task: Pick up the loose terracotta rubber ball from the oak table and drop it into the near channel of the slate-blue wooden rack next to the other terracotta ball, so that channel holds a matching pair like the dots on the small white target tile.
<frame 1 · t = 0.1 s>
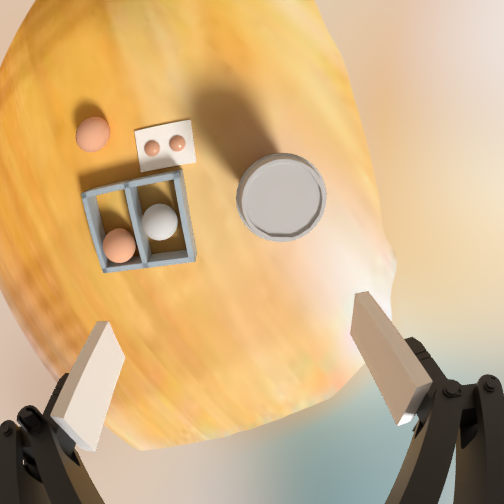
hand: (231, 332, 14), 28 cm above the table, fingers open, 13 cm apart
target tile: (165, 145, 36), on the table
ball grey: (163, 216, 40), resting in rack
disposable coffee cup: (268, 181, 39), on the table
ball terracotta 1: (124, 239, 41), resting in rack
rack: (141, 220, 40), on the table
ball terracotta 2: (100, 133, 34), on the table
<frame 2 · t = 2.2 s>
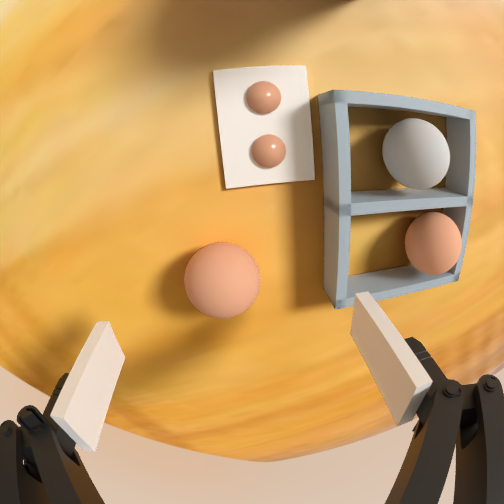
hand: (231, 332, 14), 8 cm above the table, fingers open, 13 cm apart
target tile: (265, 124, 17), on the table
ball grey: (397, 149, 18), resting in rack
ball terracotta 1: (416, 232, 21), resting in rack
rack: (396, 193, 20), on the table
ball terracotta 2: (222, 263, 21), on the table
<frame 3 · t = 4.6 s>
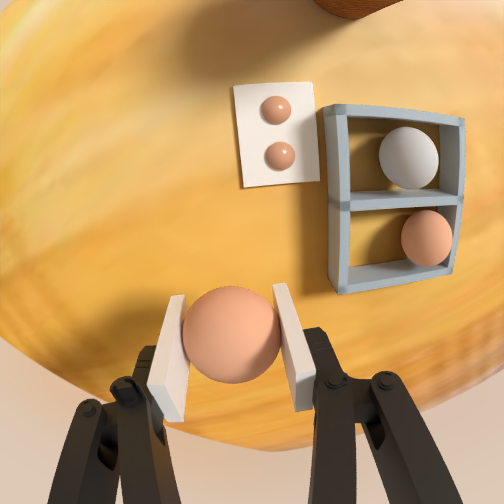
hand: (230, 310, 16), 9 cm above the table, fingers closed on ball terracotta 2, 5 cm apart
target tile: (277, 132, 20), on the table
ball grey: (393, 154, 21), resting in rack
ball terracotta 1: (412, 229, 24), resting in rack
rack: (393, 194, 23), on the table
ball terracotta 2: (231, 307, 16), point 8 cm above the table, touching gripper
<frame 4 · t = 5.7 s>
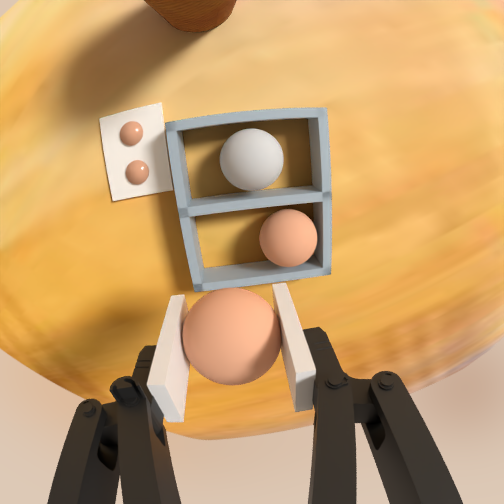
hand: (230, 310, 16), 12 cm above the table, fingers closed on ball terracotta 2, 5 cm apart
target tile: (135, 152, 23), on the table
ball grey: (249, 156, 24), resting in rack
disposable coffee cup: (199, 5, 18), on the table
ball terracotta 1: (283, 228, 27), resting in rack
rack: (253, 195, 25), on the table
ball terracotta 2: (231, 308, 16), point 12 cm above the table, touching gripper
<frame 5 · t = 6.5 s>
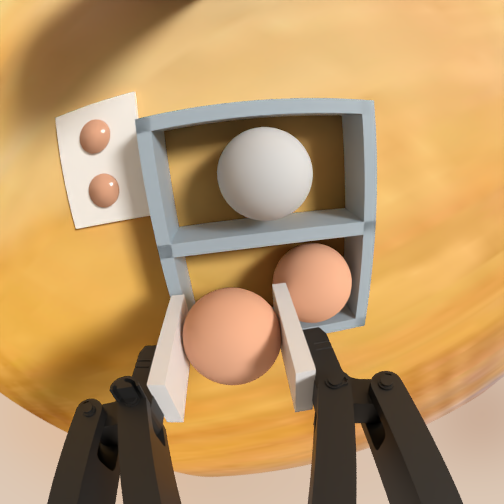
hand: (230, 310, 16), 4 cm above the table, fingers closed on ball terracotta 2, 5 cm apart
target tile: (101, 162, 16), on the table
ball grey: (259, 167, 17), resting in rack
ball terracotta 1: (303, 265, 20), resting in rack, touching gripper
rack: (264, 221, 18), on the table
ball terracotta 2: (231, 308, 16), point 4 cm above the table, touching gripper
when the fingers open (4 cm above the table, at t = 6.8 s): ball terracotta 2 drops 4 cm, resting in rack.
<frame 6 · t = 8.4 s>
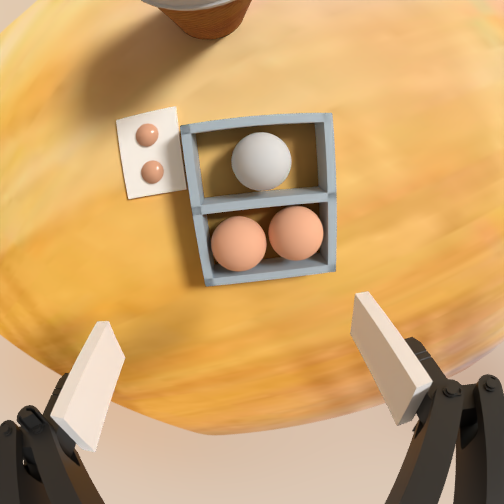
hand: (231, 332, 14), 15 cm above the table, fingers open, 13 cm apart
target tile: (150, 153, 24), on the table
ball grey: (259, 158, 25), resting in rack
disposable coffee cup: (211, 13, 19), on the table
ball terracotta 1: (279, 227, 28), resting in rack, tilted 28°
rack: (262, 195, 27), on the table
ball terracotta 2: (237, 235, 28), resting in rack
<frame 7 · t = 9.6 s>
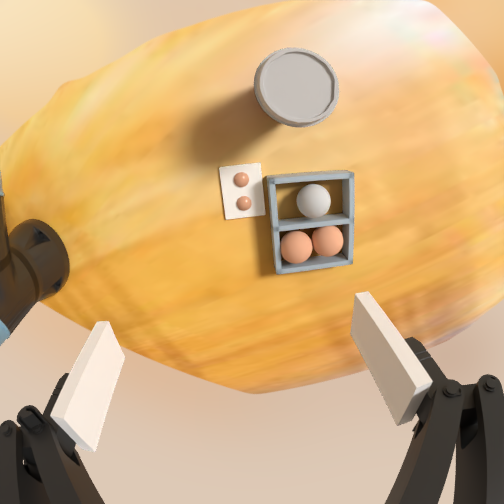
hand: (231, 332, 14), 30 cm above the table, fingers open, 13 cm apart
target tile: (242, 191, 42), on the table
ball grey: (309, 197, 43), resting in rack
disposable coffee cup: (281, 97, 37), on the table
ball terracotta 1: (318, 237, 45), resting in rack, tilted 18°
rack: (310, 218, 44), on the table
ball terracotta 2: (294, 242, 46), resting in rack, tilted 9°
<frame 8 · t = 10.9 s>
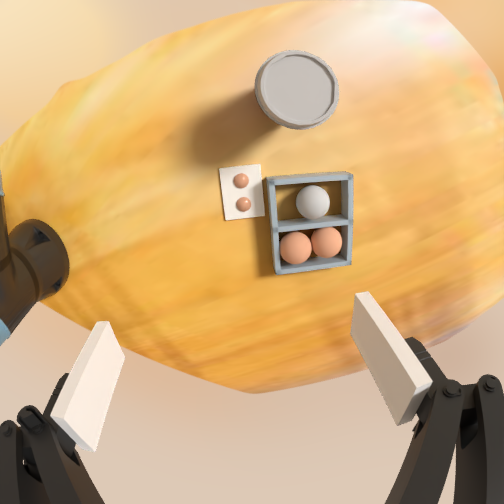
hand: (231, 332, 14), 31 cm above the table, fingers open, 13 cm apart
target tile: (242, 192, 42), on the table
ball grey: (308, 198, 43), resting in rack
disposable coffee cup: (281, 99, 37), on the table
ball terracotta 1: (317, 238, 46), resting in rack, tilted 17°
rack: (309, 219, 45), on the table
ball terracotta 2: (293, 243, 46), resting in rack, tilted 8°
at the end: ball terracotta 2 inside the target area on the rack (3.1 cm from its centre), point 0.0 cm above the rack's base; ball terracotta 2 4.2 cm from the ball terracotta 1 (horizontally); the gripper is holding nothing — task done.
